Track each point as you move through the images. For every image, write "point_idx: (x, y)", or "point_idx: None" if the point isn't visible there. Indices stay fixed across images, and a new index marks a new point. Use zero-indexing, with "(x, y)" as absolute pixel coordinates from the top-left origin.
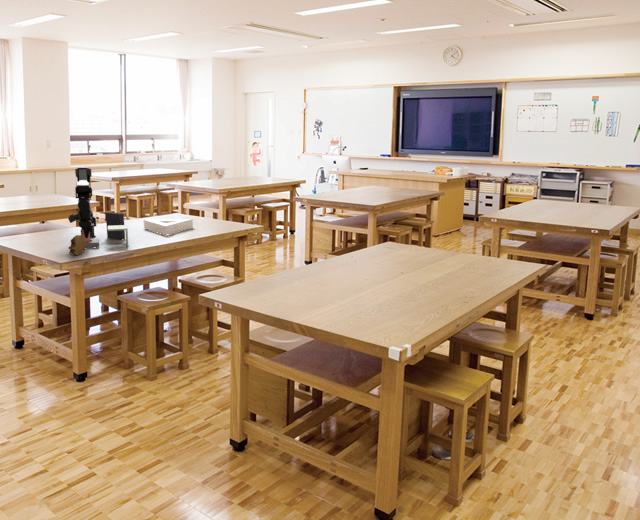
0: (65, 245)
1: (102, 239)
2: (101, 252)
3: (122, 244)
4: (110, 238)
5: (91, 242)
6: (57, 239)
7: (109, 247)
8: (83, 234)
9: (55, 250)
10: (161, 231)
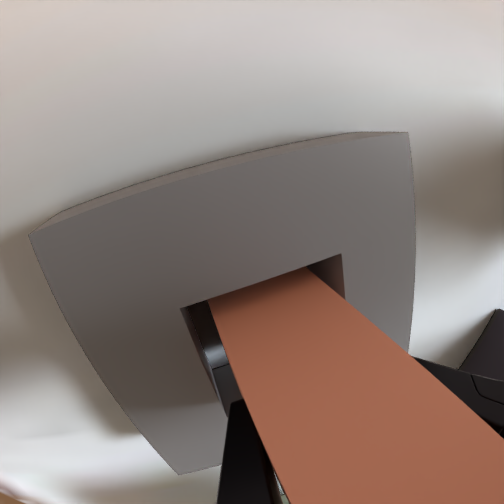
0: (329, 19)
1: (488, 293)
2: (22, 463)
3: None
4: (485, 331)
5: (159, 433)
6: (499, 6)
7: (204, 470)
8: (257, 428)
9: (7, 8)
10: None
